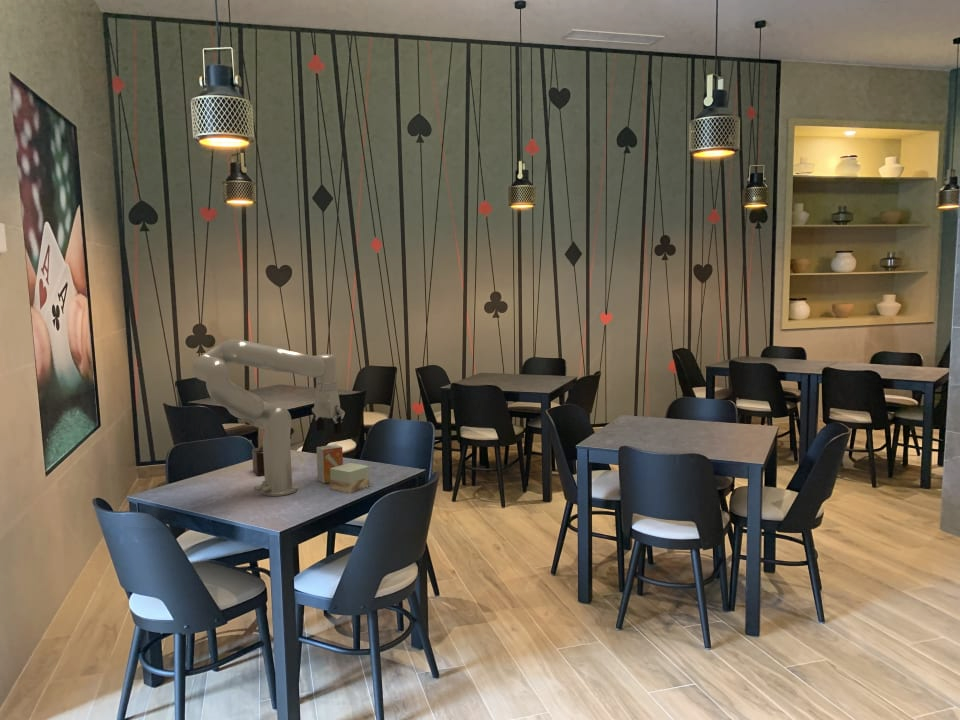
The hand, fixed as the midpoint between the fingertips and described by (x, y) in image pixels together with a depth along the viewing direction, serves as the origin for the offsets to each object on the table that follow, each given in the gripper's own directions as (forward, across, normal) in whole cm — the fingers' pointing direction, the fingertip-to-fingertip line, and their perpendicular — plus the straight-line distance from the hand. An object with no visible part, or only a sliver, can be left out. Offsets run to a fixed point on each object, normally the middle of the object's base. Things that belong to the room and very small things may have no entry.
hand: (329, 431), depth 279 cm
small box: (+19, 0, 0) cm, 19 cm away
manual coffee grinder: (+19, -30, -3) cm, 36 cm away
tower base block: (+19, +14, -3) cm, 24 cm away
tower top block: (+15, +14, -3) cm, 21 cm away
